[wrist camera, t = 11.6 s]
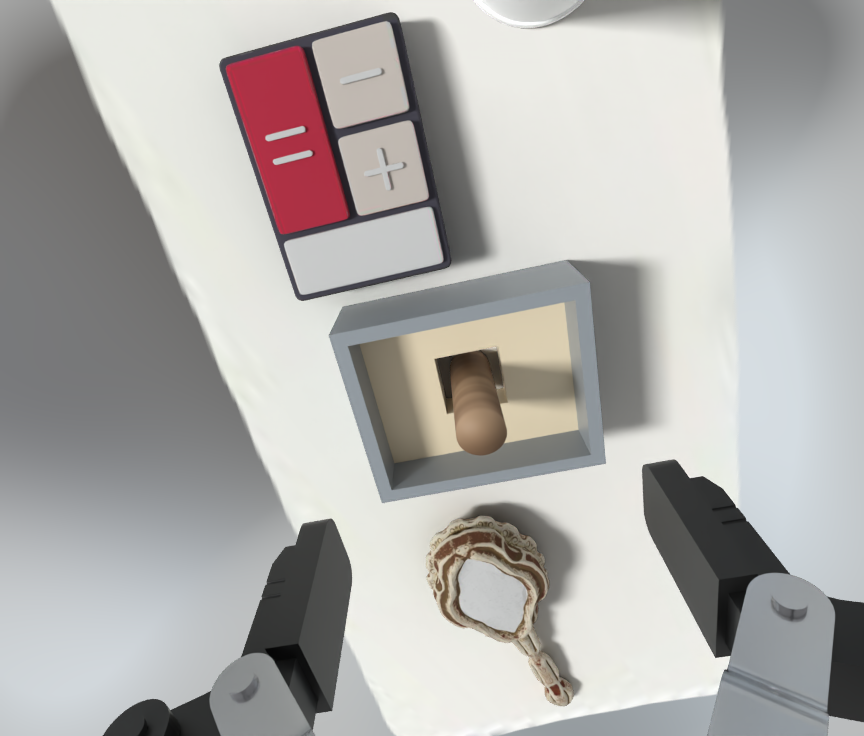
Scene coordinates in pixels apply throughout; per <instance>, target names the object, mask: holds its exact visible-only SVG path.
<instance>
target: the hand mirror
mask: <svg viewBox="0 0 864 736" xmlns="http://www.w3.org/2000/svg"><path fill="white" fill-rule="evenodd" d="M430 548H431V550H430V552H429V553H428V554H427V556H426V568H427V569H428V571H429V574H428V575H427V577H426V578H427V581H428V584H429V586H430V588H431V589H432V590H433V595H434V597H435V599H436V602H437V605H438V607H439V610H440V612H441V614H442V615H443V617H444V618H445V619H447V620H448V621H449V622H450V623H452V624H453V625H455V626H458V627H461V628H468V627H469V628H472V629H475V630H477V631H479V632H481V633H484V634H485V636H488V637H491V638H493V639H495V640H497V641H499V642H504V643H510V642H512V643H513V644H514V645H515V646H516V647H517V648H518V649H519V651H520V652H521V653H522V654H524V655H526V656H528V657H529V661H528V663H529V666H530V667H531V669H532V671H533V673H534V675H535V676H536V678H537V680H538V681H540V682H541V683H542V684H543V685H544V686H545V696H546V698H547V700H548V701H549V702H550V703H552V704H554V705H557V706H567V705H568V704H569V703H570V702H571V701H572V699H573V696H574V692H573V688H572V686H571V684H570V683H569V682H568V681H567V680H565V679H563V678H561V677H559V670H558V668H557V666H556V665H555V663H554V662H553V661H552V659H551V658H550V657H549V655H547V654H546V653H543V652H541V651H540V645H541V643H540V641H539V638H538V636H537V634H536V632H535V630H534V628H533V624H534V623H535V622H536V620H537V616H538V609H539V608H538V602H539V601H541V600H542V599H544V598H545V596H546V594H547V591H548V589H549V579H548V577H547V575H548V572H547V570H546V569H545V568H544V567H543V566H544V563H545V559H544V556H543V554H541V553H538V552H537V545H536V543H535V541H534V540H533V539H532V538H531V537H530V536H527V535H522V534H520V533H519V532H518V529H517V528H516V527H515V526H513V525H511V524H509V523H506V522H505V523H500V522H497V521H495V520H494V519H493V518H492V517H489V516H478V517H476V518H473V519H462V518H460V519H457V520H454V521H452V522H451V523H450V525H449V526H448V527H447V528H446V529H444V530H443V531H441V532H438V533H436V534H435V536H434V537H433V538H432V540H431V542H430Z"/></svg>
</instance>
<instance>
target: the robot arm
mask: <svg viewBox="0 0 864 736" xmlns="http://www.w3.org/2000/svg"><path fill="white" fill-rule="evenodd" d="M642 478H643V502H644V515H645V520H646V524H647V527H648V530H649V533H650V535H651V537H652V539H653V541H654V543H655V545H656V547H657V549H658V550H659V552H660V554H661V556H662V558H663V560H664V562H665V564H666V566H667V567H668V569H669V571H670V573H671V575H672V577H673V579H674V581H675V583H676V584H677V586H678V588H679V590H680V592H681V594H682V596H683V598H684V600H685V601H686V603H687V605H688V607H689V609H690V611H691V613H692V615H693V617H694V618H695V620H696V622H697V624H698V626H699V628H700V630H701V632H702V634H703V635H704V637H705V639H706V641H707V643H708V645H709V647H710V649H711V650H712V652H713V654H714V656H715V658H718V657H725V656H731V657H730V661H729V665H728V669H727V670H724V672H723V675H722V678H721V682H720V686H719V690H718V694H717V698H716V702H715V706H714V711H713V715H712V718H711V723H710V726H709V730H708V734H707V736H827V735H828V723H829V722H828V721H829V716H834V717H839V718H844V719H849V720H855V721H860V722H864V603H861V602H852V601H845V600H839V599H835V598H830V597H827V596H826V595H825V594H824V593H823V592H822V591H821V590H820V589H818V588H817V587H816V586H815V585H813V584H811V583H809V582H808V581H806V580H804V579H802V578H799V577H796V576H793V575H790V573H788V571H787V570H786V569H785V567H784V566H783V565H782V564H781V562H780V561H779V560H778V559H777V557H776V556H775V555H774V553H773V552H772V551H771V550H770V548H769V547H768V546H767V545H766V543H765V542H764V541H763V539H762V538H761V537H760V536H759V534H758V533H757V532H756V531H755V529H754V528H753V527H752V525H751V524H750V523H749V522H747V521H746V518H745V517H744V515H743V514H742V513H741V511H740V510H739V509H738V508H736V506H735V504H734V503H733V501H732V500H731V499H730V497H729V496H728V495H727V494H726V492H725V491H724V490H723V489H722V488H721V487H719V486H718V485H716V484H714V483H713V482H711V481H710V480H708V479H706V478H705V477H703V476H701V477H696V478H689V477H688V475H687V474H686V473H685V471H684V470H683V468H682V467H681V466H680V464H679V463H678V462H677V461H676V460H668V461H662V462H656V463H651V464H645V465H643V468H642ZM351 586H352V570H351V564H350V560H349V558H348V555H347V552H346V550H345V547H344V545H343V542H342V540H341V537H340V534H339V532H338V529H337V527H336V524H335V522H334V521H333V520H332V519H326V520H320V521H314V522H309V523H304V524H303V525H302V526H301V529H300V532H299V535H298V539H297V542H296V545H295V546H289V547H285V548H284V550H283V551H282V552H281V554H280V555H279V556H278V558H277V559H276V560H275V561H274V563H273V564H272V567H271V570H270V573H269V576H268V579H267V585H266V586H265V588H264V591H263V594H262V600H260V603H259V606H258V609H257V612H256V615H255V618H254V621H253V624H252V627H251V630H250V632H249V635H248V638H247V641H246V644H245V647H244V650H243V654H242V656H241V658H239V659H237V660H235V661H234V662H233V663H231V664H230V665H229V666H228V667H227V668H226V669H225V670H224V671H223V672H222V673H221V674H220V675H219V677H218V678H217V680H216V682H215V683H214V685H213V687H212V690H211V691H210V692H208V693H206V694H204V695H202V696H200V697H198V698H196V699H194V700H191V701H189V702H187V703H185V704H183V705H181V706H179V707H177V708H174V709H172V710H170V709H169V708H168V707H167V706H166V704H165V703H164V702H162V701H161V700H158V699H150V700H145V701H142V702H140V703H137V704H135V705H134V706H132V707H130V708H129V709H127V710H126V711H124V712H123V713H122V714H121V715H120V716H119V717H118V718H117V719H116V720H115V721H114V722H113V723H112V724H111V725H110V726H109V728H108V729H107V730H106V732H105V733H104V735H103V736H315V734H314V733H313V725H314V720H315V714H316V713H321V712H328V711H332V708H333V701H334V695H335V689H336V682H337V676H338V669H339V663H340V657H341V650H342V643H343V637H344V631H345V624H346V618H347V612H348V605H349V599H350V592H351Z"/></svg>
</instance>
